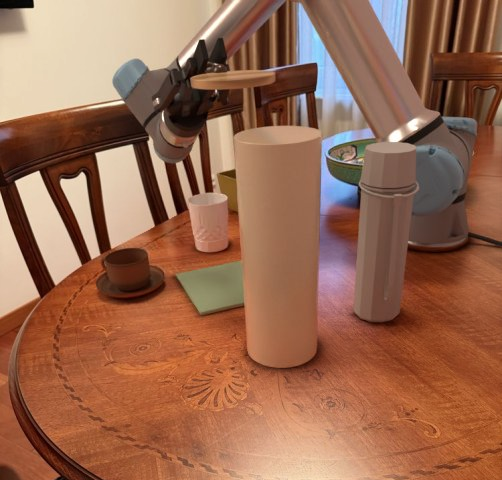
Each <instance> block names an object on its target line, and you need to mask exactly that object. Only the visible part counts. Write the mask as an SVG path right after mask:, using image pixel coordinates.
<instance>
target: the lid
mask: <svg viewBox="0 0 502 480" xmlns="http://www.w3.org/2000/svg"><path fill="white" fill-rule="evenodd" d="M190 80H191V87H192V88H196V89H206V90H222V89H230V90H238V89H240V90H241V89H248V88H249V89H250V88H255V87H256V88H257V87H263V86H268V85H271V84H274V83H275V82H276V72H275V71H273V70H263V69H243V70H241V69H240V70H230V71H227V68H226V67H225V66H224V65H222V64H218V63H213V62H208V63H207V65H206V67H205V69H204V72H203V74H201V75H196V76H193V77H191V78H190Z"/></svg>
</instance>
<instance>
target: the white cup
mask: <svg viewBox="0 0 502 480" xmlns="http://www.w3.org/2000/svg"><path fill="white" fill-rule="evenodd" d="M187 206H188V213H189V218H190V225H191V229H192V234H193V238H194V245H195V249H196V250H197V251H199V252H202V253H218V252H221V251H223V250H225V249H227V248H228V246H229V207H228V197H227V196H226V195H224V194H221V192H205V193H204V192H203V193H199V194H195V195H192V196H190V197H188V199H187Z"/></svg>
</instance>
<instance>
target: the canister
mask: <svg viewBox="0 0 502 480" xmlns="http://www.w3.org/2000/svg"><path fill="white" fill-rule="evenodd" d="M233 151H234V152H233V153H234V164H235V165H234V166H235V168H236V183H237V199H238V212H237V214H238V229H239V243H240V245H239V246H240V261H241V262H242V278H243V293H244V306H243V307H244V308H243V309H244V323H245V325H244V326H245V339H246V340H245V341H246V351H247V354H248V356H249V357H250V359H252V361H255V362H256V363H257V364H259V365H262V366H265V367H269V368H277V369H286V368H287V369H288V368H293V367H298V366H301V365H304V364H305V363H307V362H309V361H310V360H312V359H313V358H314V357H315V356H316V354H317V351H318V333H319V332H318V331H319V329H318V328H319V289H320V288H319V287H320V285H319V282H320V246H321V245H320V240H321V201H322V199H321V198H322V197H321V196H322V157H323V156H322V155H323V153H322V151H323V132H322V131H321V130H319V129H317V128H314V127H309V126H302V125H269V126H261V127H254V128H249V129H245V130H242V131H240V132H237V133H235V134H234V135H233Z"/></svg>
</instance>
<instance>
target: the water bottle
mask: <svg viewBox="0 0 502 480" xmlns="http://www.w3.org/2000/svg"><path fill="white" fill-rule="evenodd" d="M361 169H362V170H361V175H360V179H359V182H358V187H359V188H360V189H361V190H360V203H359V204H360V205H359V219H358V234H357V250H356V251H357V252H356V263H355V264H356V266H355V280H354V293H353V294H354V295H353V296H354V297H353V312H354V314H355V315H356V316H357V317H358V318H360V319H361V320H364V321H366V322H369V323H386V322H390V321H392V320H393V319H395V318H396V317H397V316H398V315H399V314H400V313H401V304H402V296H403V287H404V281H405V280H404V279H405V271H406V263H407V254H408V248H407V247H408V239H409V230H410V222H411V214H412V206H413V197H414V194H415V193H416V192H417V191H418V190H419V184H418V183H417V181H416V147H415V145H412V144H409V143H402V142H380V143H376V142H373V143H370V144H367V145H366V146H365V149H364V155H363V162H362V167H361ZM415 186H416V190H415V191H414V189H413V187H415Z"/></svg>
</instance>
